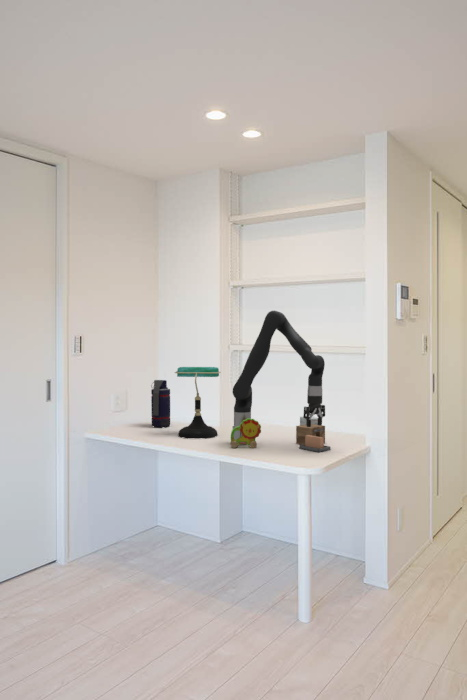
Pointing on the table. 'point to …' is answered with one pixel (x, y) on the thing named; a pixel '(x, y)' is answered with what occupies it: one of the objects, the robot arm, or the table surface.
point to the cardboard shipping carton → (309, 432)
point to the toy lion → (246, 433)
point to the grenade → (160, 403)
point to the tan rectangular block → (314, 441)
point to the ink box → (313, 420)
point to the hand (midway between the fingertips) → (314, 426)
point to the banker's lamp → (197, 404)
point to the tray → (326, 448)
